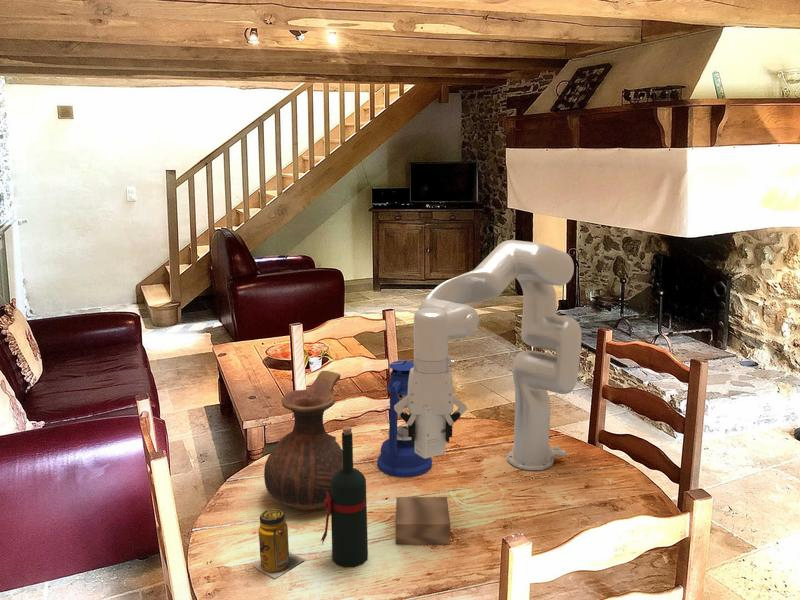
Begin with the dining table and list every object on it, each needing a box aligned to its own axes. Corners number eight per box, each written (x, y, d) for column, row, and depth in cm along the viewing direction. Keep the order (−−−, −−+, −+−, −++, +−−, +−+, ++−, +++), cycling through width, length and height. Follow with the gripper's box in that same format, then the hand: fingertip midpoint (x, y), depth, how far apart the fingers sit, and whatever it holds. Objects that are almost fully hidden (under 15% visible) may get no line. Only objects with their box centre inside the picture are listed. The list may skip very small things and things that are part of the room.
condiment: (252, 566, 152) (249, 515, 149) (282, 548, 158) (280, 499, 155) (274, 579, 147) (271, 527, 145) (305, 561, 154) (302, 510, 151)
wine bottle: (318, 551, 157) (314, 424, 150) (363, 544, 160) (361, 418, 153) (324, 572, 150) (320, 439, 143) (372, 564, 152) (369, 433, 145)
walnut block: (446, 515, 171) (446, 496, 170) (449, 544, 159) (450, 524, 158) (396, 516, 171) (396, 497, 170) (396, 544, 159) (395, 524, 158)
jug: (364, 509, 174) (362, 393, 167) (277, 528, 166) (271, 407, 159) (337, 471, 194) (334, 365, 187) (257, 486, 186) (251, 377, 179)
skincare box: (424, 459, 158) (425, 408, 155) (413, 452, 162) (413, 401, 159) (447, 452, 161) (447, 402, 158) (435, 445, 165) (435, 396, 162)
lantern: (393, 447, 208) (392, 348, 201) (441, 456, 202) (442, 355, 195) (365, 472, 193) (363, 367, 186) (417, 483, 187) (417, 374, 180)
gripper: (468, 359, 160) (467, 432, 164) (391, 359, 160) (391, 433, 164) (472, 370, 153) (470, 446, 157) (390, 370, 153) (391, 447, 157)
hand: (430, 439), depth 161 cm, fingers closed on skincare box, 7 cm apart
